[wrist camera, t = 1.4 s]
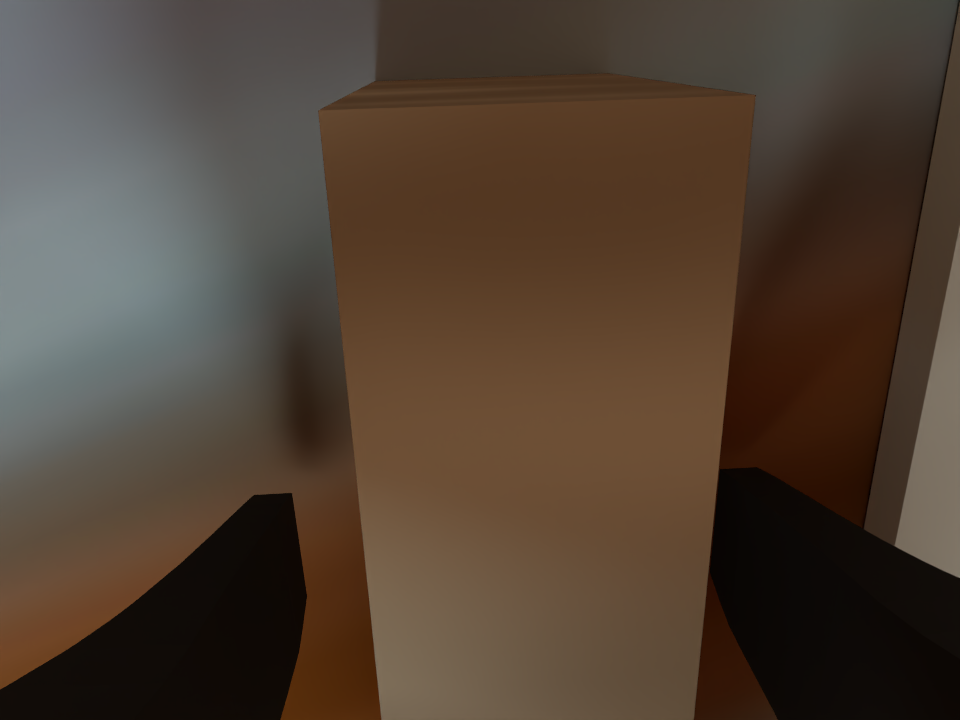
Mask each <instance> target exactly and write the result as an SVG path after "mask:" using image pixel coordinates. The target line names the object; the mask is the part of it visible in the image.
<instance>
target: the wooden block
mask: <svg viewBox="0 0 960 720" xmlns="http://www.w3.org/2000/svg"><path fill="white" fill-rule="evenodd" d="M755 96H756V95H751V94H745V93H738V92H731V91H724V90H718V89H711V88H704V87H697V86H691V85H684V84H677V83H670V82H664V81H657V80H650V79H644V78H637V77H630V76H623V75H617V74H610V73H601V74H571V75H541V76H512V77H482V78H453V79H423V80H394V81H374V82H372V83H370V84H369V85H367V86H365V87H363V88H361V89H359V90H357V91H355V92H353V93H351V94H349V95H347V96H345V97H343V98H341V99H339V100H338V101H336V102H334V103H332V104H330V105H328V106H326V107H324V108H322V109H320V110H318V112H319V122H320V131H321V141H322V151H323V160H324V170H325V179H326V189H327V199H328V208H329V218H330V228H331V237H332V247H333V256H334V266H335V276H336V285H337V295H338V305H339V314H340V324H341V333H342V343H343V353H344V362H345V372H346V382H347V391H348V401H349V410H350V420H351V430H352V439H353V449H354V459H355V468H356V478H357V487H358V497H359V507H360V516H361V526H362V536H363V545H364V555H365V564H366V574H367V584H368V593H369V603H370V613H371V622H372V632H373V641H374V651H375V661H376V670H377V680H378V690H379V699H380V709H381V718H382V720H694V712H695V702H696V692H697V682H698V672H699V662H700V652H701V641H702V631H703V621H704V611H705V601H706V591H707V581H708V571H709V561H710V551H711V540H712V530H713V520H714V510H715V500H716V490H717V480H718V470H719V460H720V450H721V440H722V429H723V419H724V409H725V399H726V389H727V379H728V369H729V359H730V349H731V339H732V329H733V318H734V308H735V298H736V288H737V278H738V268H739V258H740V248H741V238H742V228H743V217H744V207H745V197H746V187H747V177H748V167H749V157H750V147H751V137H752V127H753V117H754V106H755Z"/></svg>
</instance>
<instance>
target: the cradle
mask: <svg viewBox="0 0 960 720" xmlns="http://www.w3.org/2000/svg"><path fill="white" fill-rule="evenodd" d="M864 530H866V531H868V532H869V533H871V534H873V535H875V536H877V537H878V538H880V539H882V540H884V541H886V542H888V543H889V544H891V545H893V546H895V547H897V548H899V549H901V550H903V551H905V552H907V553H909V554H911V555H913V556H914V557H916V558H918V559H920V560H922V561H924V562H926V563H928V564H930V565H932V566H935V567H937V568H939V569H941V570H943V571H945V572H947V573H950V574H952V575H954V576H956V577H959V578H960V4H959V10H958V15H957V21H956V26H955V32H954V37H953V43H952V48H951V54H950V59H949V65H948V70H947V75H946V81H945V86H944V92H943V97H942V103H941V108H940V114H939V119H938V125H937V130H936V136H935V141H934V147H933V152H932V158H931V163H930V169H929V174H928V179H927V185H926V190H925V196H924V201H923V207H922V212H921V218H920V223H919V229H918V234H917V240H916V245H915V251H914V256H913V262H912V267H911V273H910V278H909V284H908V289H907V294H906V300H905V305H904V311H903V316H902V322H901V327H900V333H899V338H898V344H897V349H896V355H895V360H894V366H893V371H892V377H891V382H890V388H889V393H888V399H887V404H886V409H885V415H884V420H883V426H882V431H881V437H880V442H879V448H878V453H877V459H876V464H875V470H874V475H873V481H872V486H871V492H870V497H869V503H868V508H867V514H866V519H865V524H864Z"/></svg>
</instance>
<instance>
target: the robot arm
mask: <svg viewBox="0 0 960 720" xmlns="http://www.w3.org/2000/svg"><path fill="white" fill-rule="evenodd" d="M710 574H711V577H712V580H713V582H714V585H715V588H716V591H717V594H718V597H719V600H720V603H721V605H722V608H723V611H724V613H725V616H726V619H727V621H728V624H729V626H730V628H731V630H732V632H733V634H734V636H735V638H736V640H737V642H738V644H739V646H740V648H741V650H742V652H743V654H744V656H745V658H746V660H747V662H748V663H749V665H750V667H751V669H752V671H753V673H754V675H755V677H756V679H757V681H758V682H759V684H760V686H761V688H762V690H763V692H764V694H765V696H766V698H767V699H768V701H769V703H770V705H771V707H772V709H773V711H774V713H775V715H776V716H777V718H778V720H960V578H959V577H956V576H954V575H952V574H950V573H947V572H945V571H943V570H941V569H939V568H937V567H935V566H932V565H930V564H928V563H926V562H924V561H922V560H920V559H918V558H916V557H914V556H913V555H911V554H909V553H907V552H905V551H903V550H901V549H899V548H897V547H895V546H893V545H891V544H889V543H888V542H886V541H884V540H882V539H880V538H878V537H877V536H875V535H873V534H871V533H869V532H868V531H866V530H864V529H862V528H861V527H859V526H857V525H855V524H854V523H852V522H850V521H848V520H847V519H845V518H843V517H842V516H840V515H838V514H836V513H835V512H833V511H831V510H830V509H828V508H826V507H825V506H823V505H821V504H820V503H818V502H816V501H815V500H813V499H811V498H810V497H808V496H806V495H805V494H803V493H801V492H800V491H798V490H796V489H795V488H793V487H791V486H790V485H788V484H786V483H785V482H783V481H781V480H780V479H778V478H776V477H774V476H772V475H771V474H769V473H767V472H765V471H763V470H761V469H759V468H757V467H754V468H736V469H720V473H719V483H718V494H717V504H716V514H715V525H714V535H713V546H712V556H711V566H710ZM306 599H307V594H306V587H305V580H304V573H303V566H302V559H301V552H300V545H299V539H298V532H297V525H296V518H295V511H294V504H293V497H292V493H284V494H266V495H254V496H253V497H251V498H250V499H249V500H248V501H247V502H246V503H245V504H244V505H242V506H241V507H240V508H239V509H238V510H237V511H236V512H235V513H234V514H233V515H232V516H231V517H230V518H229V519H228V520H227V521H226V522H225V523H224V524H223V525H222V526H220V527H219V528H218V529H217V530H216V531H215V532H214V533H213V534H212V535H211V536H210V537H209V538H208V539H207V540H206V541H205V542H203V543H202V544H201V545H200V546H199V547H198V548H197V549H196V550H195V551H194V552H193V553H192V554H190V555H189V556H188V557H187V558H186V559H185V560H184V561H183V562H182V563H181V564H179V565H178V566H177V567H176V568H175V569H174V570H172V571H171V572H170V573H169V574H168V575H166V576H165V577H164V578H163V579H162V580H160V581H159V582H158V583H157V584H156V585H154V586H153V587H152V588H151V589H150V590H148V591H147V592H146V593H145V594H144V595H142V596H141V597H140V598H139V599H138V600H136V601H135V602H134V603H133V604H131V605H130V606H129V607H127V608H126V609H125V610H123V611H122V612H121V613H119V614H118V615H117V616H115V617H114V618H113V619H111V620H110V621H109V622H107V623H106V624H104V625H103V626H101V627H100V628H99V629H97V630H96V631H94V632H93V633H91V634H90V635H88V636H87V637H86V638H84V639H83V640H81V641H80V642H78V643H77V644H75V645H74V646H72V647H71V648H69V649H68V650H66V651H64V652H63V653H61V654H59V655H58V656H56V657H54V658H53V659H51V660H49V661H48V662H46V663H44V664H43V665H41V666H39V667H38V668H36V669H34V670H33V671H31V672H29V673H28V674H26V675H24V676H23V677H21V678H19V679H18V680H16V681H14V682H13V683H11V684H9V685H8V686H6V687H4V688H2V689H0V720H280V719H281V715H282V712H283V708H284V705H285V701H286V698H287V694H288V691H289V687H290V683H291V680H292V676H293V672H294V669H295V665H296V661H297V658H298V654H299V648H300V642H301V635H302V629H303V621H304V614H305V606H306Z"/></svg>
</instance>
